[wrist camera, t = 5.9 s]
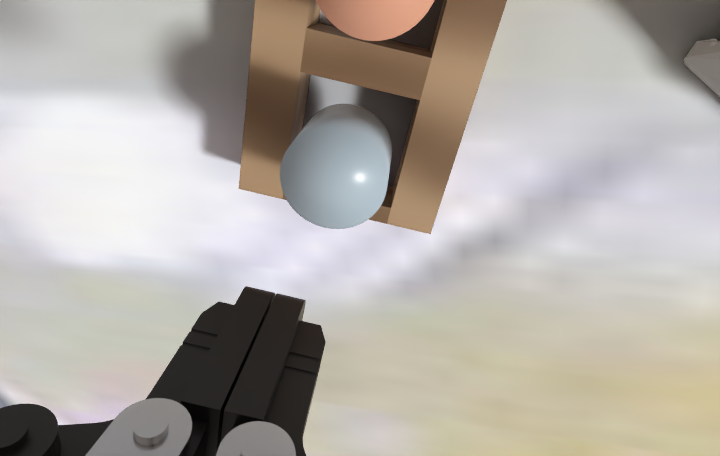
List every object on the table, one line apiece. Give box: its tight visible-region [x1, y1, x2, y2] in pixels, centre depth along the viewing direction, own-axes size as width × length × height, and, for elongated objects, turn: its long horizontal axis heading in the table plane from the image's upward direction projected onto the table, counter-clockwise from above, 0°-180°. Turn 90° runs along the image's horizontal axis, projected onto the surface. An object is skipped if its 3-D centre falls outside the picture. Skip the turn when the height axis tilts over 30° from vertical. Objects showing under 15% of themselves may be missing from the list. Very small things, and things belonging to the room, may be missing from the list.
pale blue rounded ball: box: [280, 104, 392, 229], centre depth 22 cm, size 5×5×5 cm
